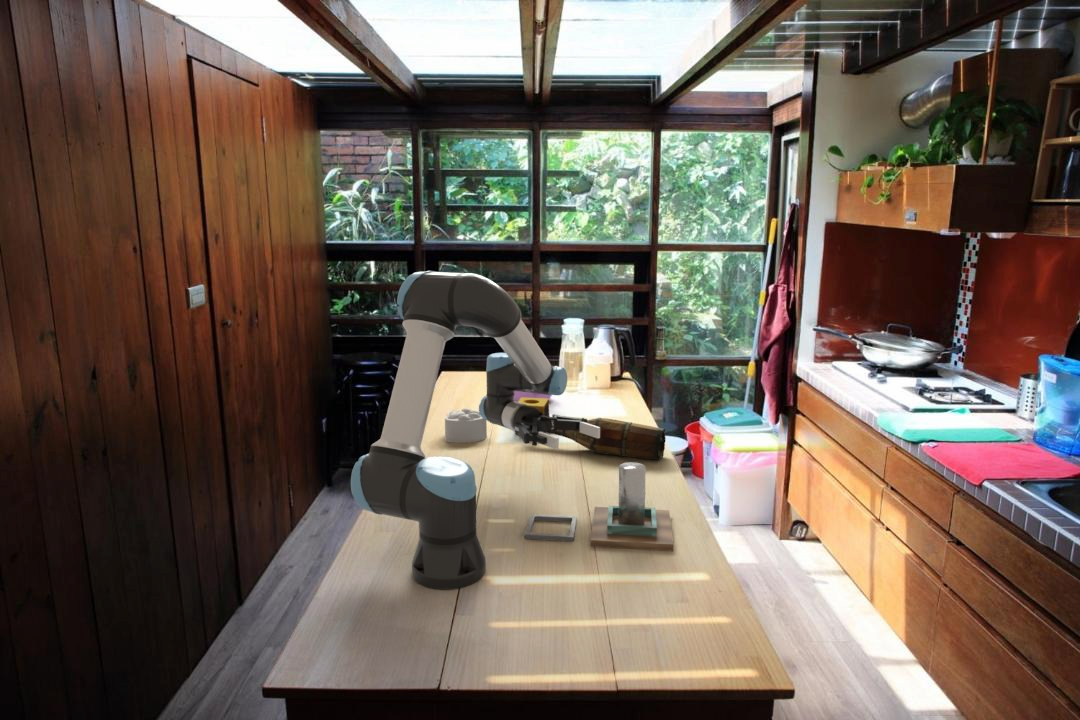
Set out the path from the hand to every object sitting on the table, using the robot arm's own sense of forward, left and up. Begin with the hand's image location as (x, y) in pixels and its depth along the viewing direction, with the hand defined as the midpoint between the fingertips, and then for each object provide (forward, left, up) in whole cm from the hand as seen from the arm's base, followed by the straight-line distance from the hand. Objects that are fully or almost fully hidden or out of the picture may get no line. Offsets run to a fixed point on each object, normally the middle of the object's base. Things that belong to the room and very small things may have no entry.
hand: (578, 438), depth 176 cm
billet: (-8, -13, -18) cm, 23 cm away
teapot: (+99, +26, -20) cm, 104 cm away
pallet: (-8, -13, -19) cm, 25 cm away
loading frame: (-10, +6, -19) cm, 22 cm away
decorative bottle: (+46, -1, -20) cm, 50 cm away
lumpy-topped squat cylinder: (+54, +40, -20) cm, 70 cm away
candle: (+63, +20, -20) cm, 69 cm away
